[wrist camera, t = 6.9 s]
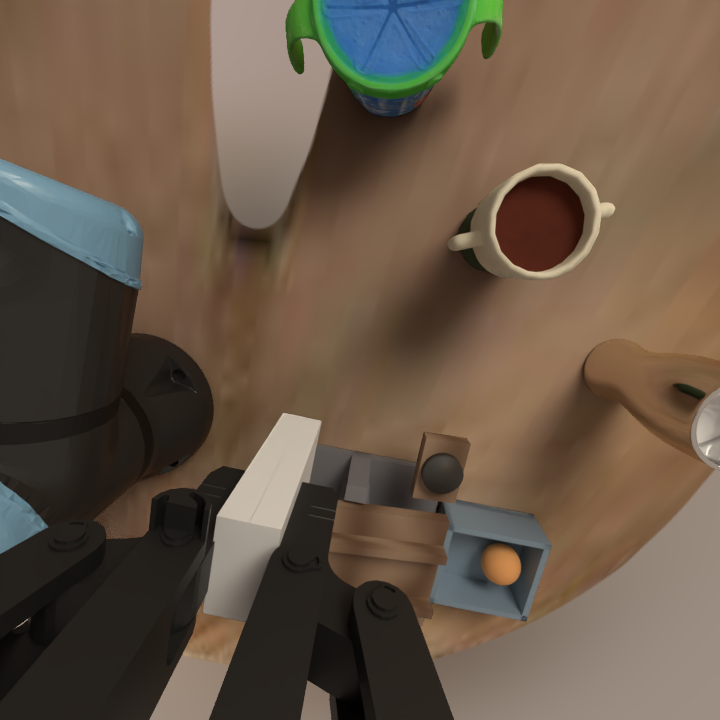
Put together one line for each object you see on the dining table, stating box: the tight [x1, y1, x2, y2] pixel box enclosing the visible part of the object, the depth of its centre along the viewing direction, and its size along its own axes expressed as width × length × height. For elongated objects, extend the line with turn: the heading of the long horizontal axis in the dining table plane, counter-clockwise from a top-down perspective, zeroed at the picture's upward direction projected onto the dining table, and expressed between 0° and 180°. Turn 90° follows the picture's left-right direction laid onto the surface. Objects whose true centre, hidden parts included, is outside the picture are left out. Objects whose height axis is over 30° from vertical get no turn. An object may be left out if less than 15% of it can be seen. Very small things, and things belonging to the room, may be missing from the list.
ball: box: [481, 543, 521, 586], centre depth 42 cm, size 4×4×4 cm
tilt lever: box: [328, 432, 470, 626], centre depth 38 cm, size 18×20×6 cm
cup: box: [430, 500, 552, 621], centre depth 43 cm, size 10×9×5 cm
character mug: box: [447, 164, 615, 280], centre depth 32 cm, size 11×7×13 cm, turn 102°
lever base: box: [309, 444, 438, 513], centre depth 42 cm, size 18×16×7 cm
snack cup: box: [286, 0, 503, 117], centre depth 31 cm, size 16×10×10 cm
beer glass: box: [584, 339, 720, 471], centre depth 33 cm, size 7×7×15 cm
